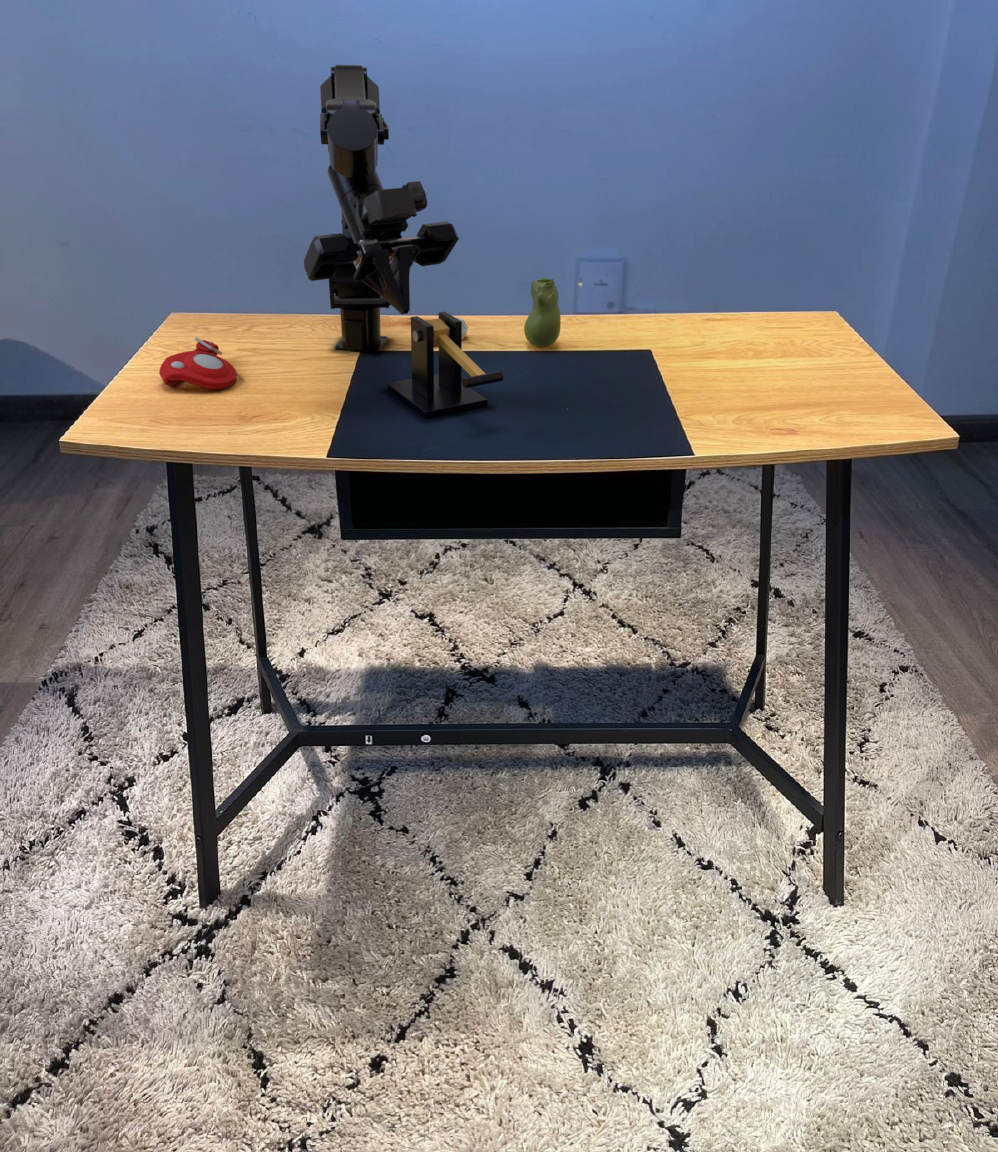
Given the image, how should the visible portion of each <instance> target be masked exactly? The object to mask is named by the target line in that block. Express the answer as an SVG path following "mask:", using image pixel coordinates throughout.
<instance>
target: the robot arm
mask: <svg viewBox="0 0 998 1152" xmlns="http://www.w3.org/2000/svg"><path fill="white" fill-rule="evenodd" d="M379 87H380V86H378V84H376V83H375V81H374V80H372V79H371V78H370V77H369V76H368V68H367V66H363V65H362V64H335V65H334V66H330V76H329V77H328V78H327V79H326V80H324V82H322V83H321V84H320V86H319V92H320V93H319V94H320V109H321V110H320V112H321V113H320V114H319V115H320V118H319V119H320V120H319V122H320V123H319V125H320V127H319V132H320V144H321V145H327V152H328V157H329V166H328V169H327V175H328V179H329V181H330V183H331V186H332V189H333V191H334V194H335V196H336V199H337V201H338V204H339V207H340V210H341V221H340V222H341V225H342V226H341V227H342V228H341V229H342V233H340V232H339V233H331V234H323V235H314V237H313V238H312V240H311V242H310V244H309V247H308V249H307V252H306V254H305V257H304V259H303V267H304V270H305V273H306V276H307V279H308V280H310V281H311V282H314V281H322V280H328V288H329V303H330V309H331V310H335V309H339V311H340V313H339V315H340V329H341V339H340V340H339V341H338V342H337V343H336V344H335V346H334V350H335V351H341V352H352V353H353V352H354V353H355V352H356V353H364V354H365V353H366V354H378V353H379V352H380V351H381V350H382V349H383V347H384V346H385V344H386V343H387V341H389V337H388V336H386V335H382V332H381V331H382V330H381V309H384V308H385V309H390V306H392V308H394V309H395V310H396V311H397V312H398V313H399V314H400V315H407V314H408V313H409V312H410V311H411V299H410V296H411V294H410V273H411V267H412V266H413V264H414V263H416V264H417V265H419V266H421V267H427V266H428V267H429V266H437V265H441V264H443V263H445V262H446V260H447V259H448V258H449V255H450V254H451V252H452V251H453V249H454V247H455V246H456V244H457V243H458V241H459V240H460V237H459V235H458V233H457V229H456V228H455V226H454V225H453V224H452V223H451V222H449V221H438V222H431V223H430V222H429V223H423V224H422V225H421V227H420V228H419V230H418V232H417V233H416V235H415V236H408V237H407V236H406V237H403V235H402V233H403V232H406V231H407V229H408V227H409V224H408V220H409V219H410V218H416V217H417V216H418V213H419V212H422V211H423V210H425V209H426V208H427V207H428V197H427V194H426V191H425V189H424V186H423V185H422V183H421V181H420V180H417V181H409V182H408V181H407V182H406V184H404V185H403V184H402V186H401V187H395V188H385V189H384V187H383V184H382V183H381V178H380V177H379V174H378V171H377V166H378V162H379V158H378V157H379V145H380V146H384V145H385V141H386V140H387V141H389V139H390V135H389V133H390V132H389V125H388V123H387V122H386V121H385V119H384V117H383V114H382V113H381V107H380V104H381V103H380V88H379Z"/></svg>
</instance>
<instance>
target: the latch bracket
mask: <svg viewBox="0 0 998 1152" xmlns="http://www.w3.org/2000/svg"><path fill="white" fill-rule="evenodd" d="M438 318H440V319H441V320H442V321H443V322H444V323H445V324H446V325H447V326H448V327H449V328H450V330H449V338H450V339H451V340H452V341H453V342H454V343H455V344H456V345H457V346H458V347H459V348H460V349H461V350H462V347H463V346H462V343H463V342H462V341H463V340H462V321H460V320H459V319H457V318H458V317H455V316H454V315H451V314H450V313H448V312H447V311H441V312H438ZM434 351H435V349H434V331H433V325H431V324H429V323H428V322H426V321H425V320H424V319H423V318H421V317H420V316H418V315H415V316H410V352H411V353H410V355H411V359H410V361H411V378H407V379H402V380H398V381H392V382H387V383H386V388H387V389H386V390H387V392H389V393H390V394H392V395H393V396H394V397H395V398H397V400H400V401H401V402H402V403H403V404H404V405H406V406H407V407H409V408H410V409H411V410H412V411H414V412H415V413H416V414H418V415H419V416H420V417H421V418H423V419H425V420H429V419H435V418H439V417H444V416H449V415H453V414H458V413H463V412H468V411H472V410H478V409H482V408H487V407H488V398H486V397H485V396H483V395H482V394H480V393H478V391H476V390H474V389H473V388H472V387H469V388H464V386H463V383H462V367H461V366H460V365H459V364H458V363H457V362H456V361H455V360H454V359H453V358H452V356H451V355H450V354H449V353H448V352H447V351H446V350H445V349H444V348H443V347H442V346H441V347H438V373H435V358H434V357H435V354H434ZM462 351H463V350H462Z"/></svg>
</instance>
